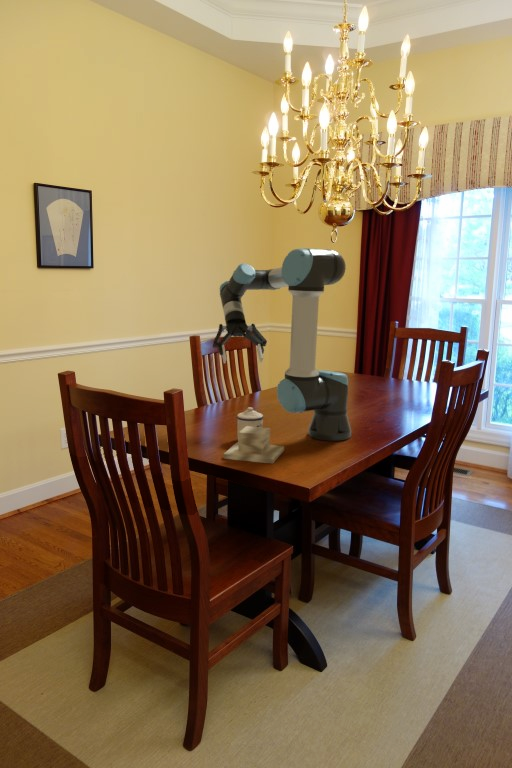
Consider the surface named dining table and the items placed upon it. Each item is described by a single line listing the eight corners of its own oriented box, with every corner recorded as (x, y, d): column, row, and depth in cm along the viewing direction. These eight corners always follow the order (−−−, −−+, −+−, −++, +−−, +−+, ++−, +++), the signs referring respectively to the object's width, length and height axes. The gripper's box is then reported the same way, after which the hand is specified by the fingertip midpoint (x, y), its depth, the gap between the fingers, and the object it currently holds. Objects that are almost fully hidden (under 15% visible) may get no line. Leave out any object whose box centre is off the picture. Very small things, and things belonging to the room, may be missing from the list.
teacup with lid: (257, 445, 195) (258, 411, 193) (232, 442, 198) (232, 409, 196) (269, 436, 207) (269, 404, 204) (245, 434, 210) (245, 402, 207)
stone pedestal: (284, 450, 190) (284, 426, 189) (272, 463, 177) (273, 438, 175) (237, 446, 195) (237, 422, 193) (223, 458, 181) (223, 433, 180)
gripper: (263, 322, 229) (274, 365, 217) (200, 322, 222) (208, 367, 211) (267, 309, 223) (278, 353, 211) (203, 309, 216) (210, 355, 205)
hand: (243, 360), depth 211 cm, fingers open, 13 cm apart
